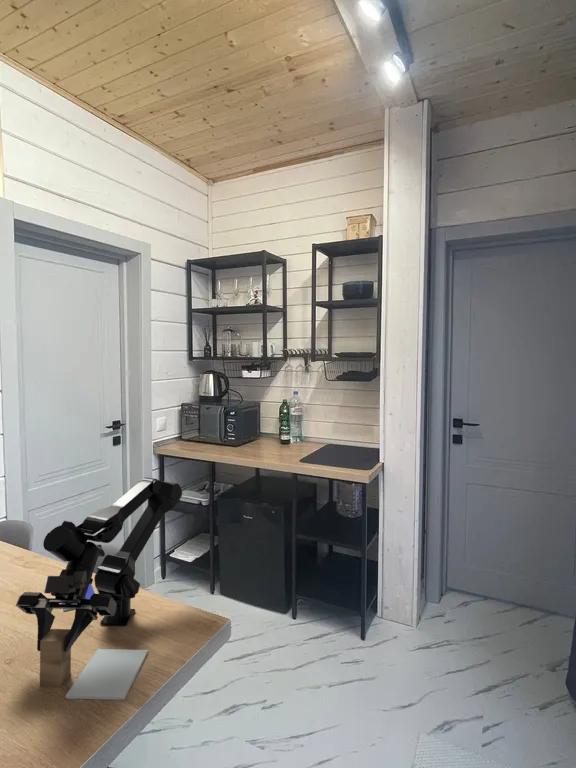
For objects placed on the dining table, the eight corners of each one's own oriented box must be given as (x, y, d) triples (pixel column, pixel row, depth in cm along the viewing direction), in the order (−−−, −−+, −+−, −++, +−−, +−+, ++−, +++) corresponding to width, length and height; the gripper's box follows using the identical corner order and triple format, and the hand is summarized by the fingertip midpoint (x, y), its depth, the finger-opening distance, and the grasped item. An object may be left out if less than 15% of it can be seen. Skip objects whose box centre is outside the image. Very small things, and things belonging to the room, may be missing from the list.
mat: (97, 651, 96) (97, 648, 96) (147, 652, 96) (147, 650, 96) (65, 698, 82) (65, 695, 82) (124, 699, 82) (124, 697, 82)
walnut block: (50, 672, 89) (51, 628, 89) (70, 672, 89) (71, 629, 89) (39, 686, 85) (40, 640, 85) (60, 686, 85) (60, 641, 85)
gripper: (21, 554, 90) (-16, 639, 80) (112, 556, 91) (87, 641, 80) (42, 574, 99) (11, 654, 88) (125, 576, 99) (104, 656, 88)
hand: (52, 651), depth 86 cm, fingers open, 5 cm apart
